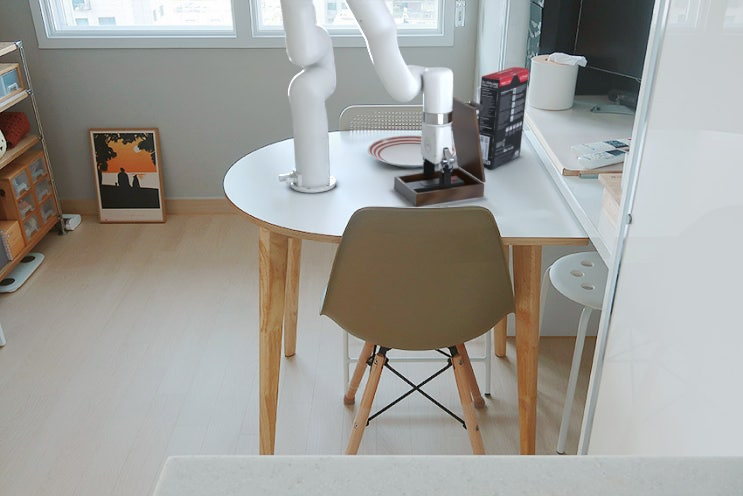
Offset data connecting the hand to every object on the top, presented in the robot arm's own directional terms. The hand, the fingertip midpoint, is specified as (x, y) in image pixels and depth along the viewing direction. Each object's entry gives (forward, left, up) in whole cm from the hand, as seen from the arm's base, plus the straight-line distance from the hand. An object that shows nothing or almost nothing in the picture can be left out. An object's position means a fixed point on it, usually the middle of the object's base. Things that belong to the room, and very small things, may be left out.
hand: (436, 180), depth 188 cm
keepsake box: (+1, 0, -4) cm, 4 cm away
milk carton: (+38, +38, -5) cm, 54 cm away
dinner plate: (+7, +31, -5) cm, 32 cm away
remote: (0, 0, -4) cm, 4 cm away
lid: (+8, 0, +10) cm, 13 cm away
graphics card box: (+30, +18, -5) cm, 35 cm away
